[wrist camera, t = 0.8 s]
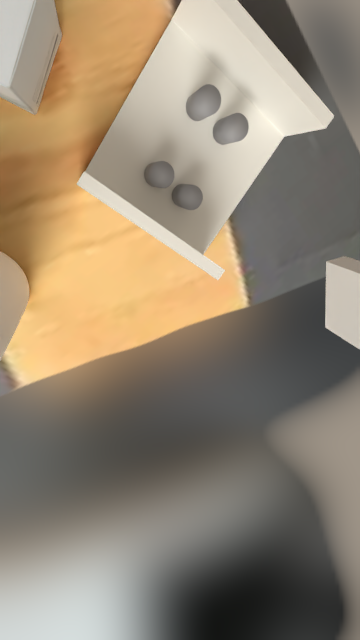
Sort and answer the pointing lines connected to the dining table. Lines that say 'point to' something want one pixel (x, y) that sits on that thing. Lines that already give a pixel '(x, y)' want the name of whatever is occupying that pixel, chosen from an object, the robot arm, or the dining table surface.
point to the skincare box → (27, 50)
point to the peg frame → (200, 127)
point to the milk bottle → (11, 298)
